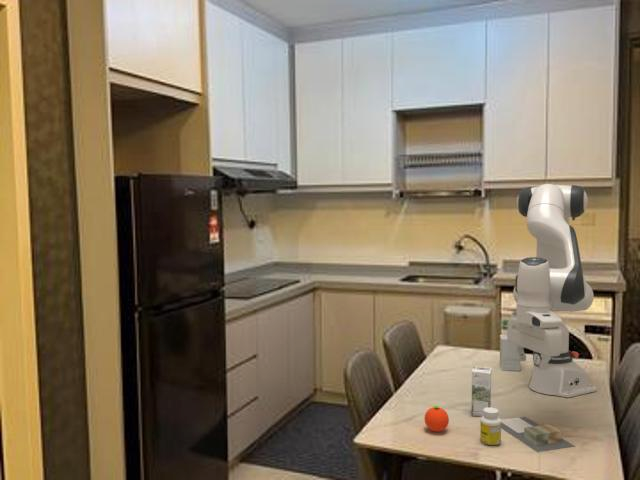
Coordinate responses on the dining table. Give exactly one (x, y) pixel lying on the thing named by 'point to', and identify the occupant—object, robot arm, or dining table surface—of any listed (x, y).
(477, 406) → the syrup box
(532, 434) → the shiny reflective rectangular block
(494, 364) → the dining table surface
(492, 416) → the supplement bottle
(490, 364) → the dining table surface
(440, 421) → the clementine
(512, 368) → the supplement box
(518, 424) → the mat
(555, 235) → the robot arm
